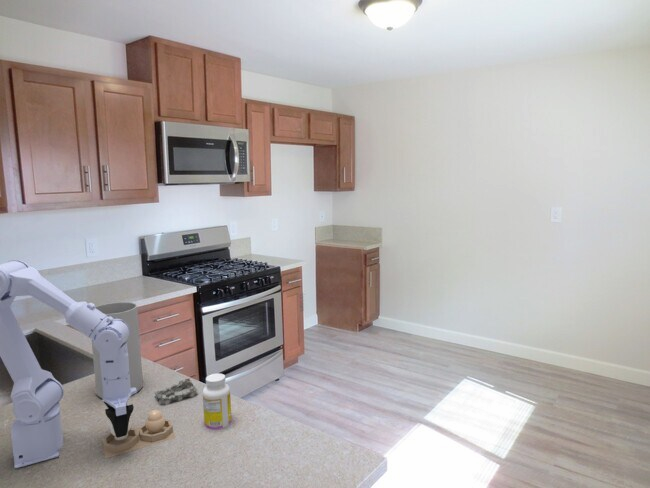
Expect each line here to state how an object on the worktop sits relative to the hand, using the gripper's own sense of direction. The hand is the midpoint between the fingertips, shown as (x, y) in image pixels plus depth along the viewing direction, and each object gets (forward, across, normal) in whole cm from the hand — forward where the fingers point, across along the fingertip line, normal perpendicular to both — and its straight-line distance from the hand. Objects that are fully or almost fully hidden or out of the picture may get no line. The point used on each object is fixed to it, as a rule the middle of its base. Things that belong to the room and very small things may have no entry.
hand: (120, 430), depth 101 cm
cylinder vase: (+4, +31, -3) cm, 31 cm away
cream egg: (+2, 0, 0) cm, 2 cm away
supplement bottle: (+4, -3, -22) cm, 22 cm away
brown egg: (+3, 0, -8) cm, 8 cm away
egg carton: (+4, +16, -16) cm, 23 cm away
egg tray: (+4, 0, -4) cm, 6 cm away
